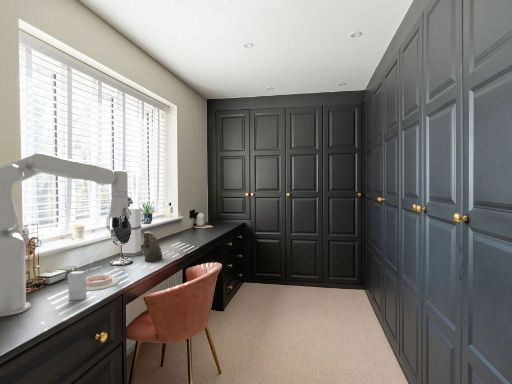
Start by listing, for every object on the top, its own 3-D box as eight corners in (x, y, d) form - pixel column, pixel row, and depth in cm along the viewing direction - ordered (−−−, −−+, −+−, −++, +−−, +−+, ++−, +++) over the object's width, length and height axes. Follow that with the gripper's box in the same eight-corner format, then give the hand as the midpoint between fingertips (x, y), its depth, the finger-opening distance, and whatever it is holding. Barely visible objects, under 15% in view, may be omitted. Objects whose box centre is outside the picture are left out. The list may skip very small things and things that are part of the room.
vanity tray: (81, 293, 142) (81, 287, 142) (71, 284, 157) (71, 278, 157) (124, 284, 156) (124, 278, 156) (111, 276, 171) (111, 270, 171)
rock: (149, 263, 200) (149, 233, 200) (136, 261, 206) (136, 232, 206) (163, 259, 212) (163, 230, 211) (150, 257, 217) (150, 229, 217)
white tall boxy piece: (141, 252, 232) (141, 207, 232) (135, 256, 221) (135, 208, 221) (127, 252, 232) (126, 207, 232) (120, 256, 222) (119, 208, 221)
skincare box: (86, 296, 139) (86, 270, 138) (82, 300, 134) (81, 273, 134) (72, 297, 138) (72, 271, 138) (67, 300, 134) (67, 273, 133)
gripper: (104, 194, 155) (104, 227, 155) (120, 194, 144) (121, 230, 144) (118, 194, 160) (119, 226, 161) (135, 194, 150) (136, 228, 150)
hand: (120, 228), depth 152 cm, fingers open, 9 cm apart
